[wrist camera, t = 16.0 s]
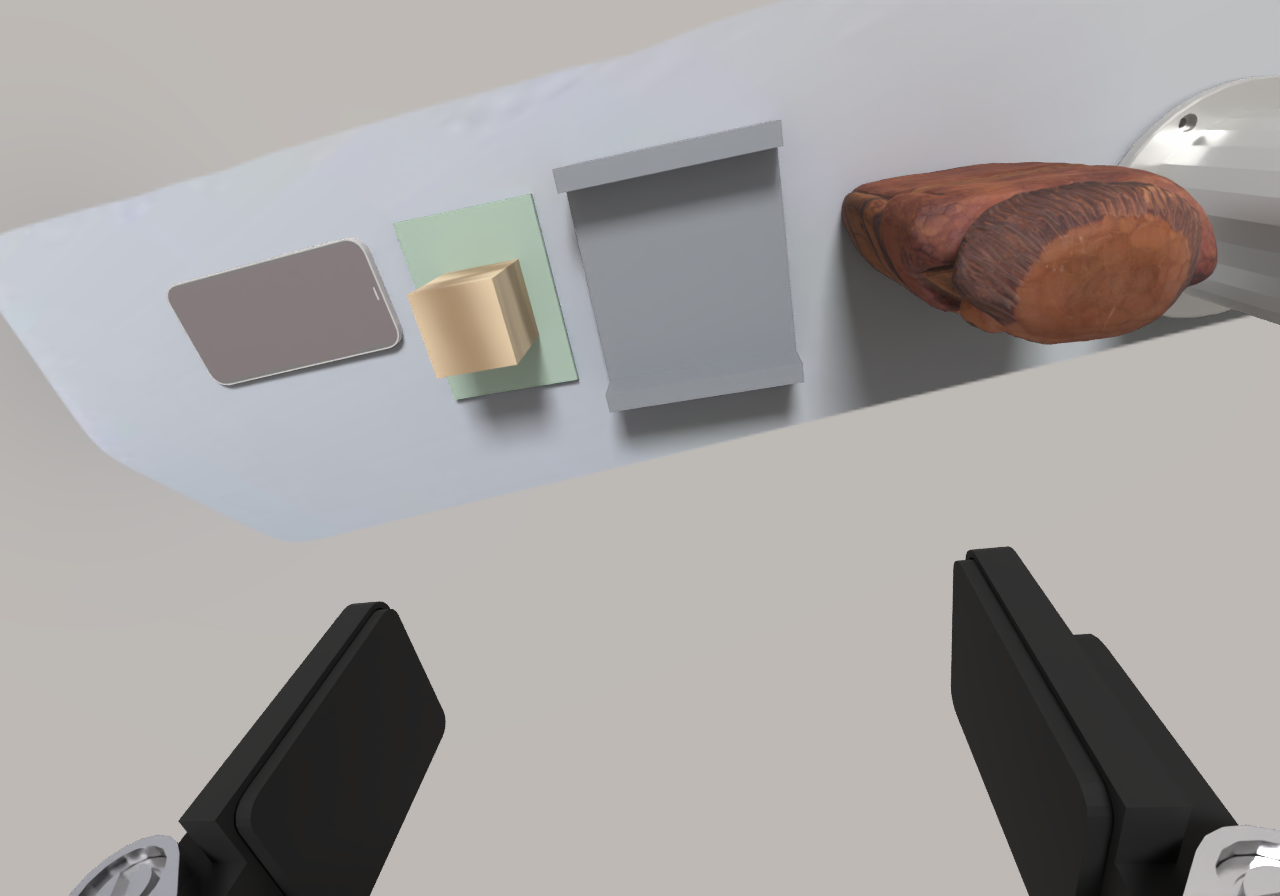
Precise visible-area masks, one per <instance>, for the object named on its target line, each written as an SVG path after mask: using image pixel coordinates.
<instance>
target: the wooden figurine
mask: <svg viewBox="0 0 1280 896" xmlns="http://www.w3.org/2000/svg"><path fill="white" fill-rule="evenodd" d="M842 215H843V219H844V222H845V225H846V228H847V230H848V233H849V235H850V237H851V239H852V241H853V243H854V245H855V247H856V248H857V250H858V251H859V253H860V254H861V255H862V256H863V257H864V258H865V259H866V260H867V261H868V262H869V263H870V264H871V265H872V266H873V267H874V268H875V269H877V270H878V271H880V272H881V273H883V274H884V275H886V276H887V277H889V278H891V279H893V280H894V281H896V282H897V283H899V284H900V285H902V286H904V287H905V288H906V289H908V290H909V291H911V292H912V293H913V294H915V295H916V296H918V297H920V298H921V299H922V300H924V301H925V302H927V303H928V304H929V305H931V306H933V307H935V308H937V309H941V310H943V311H950V312H955V313H960V314H961V316H962V317H963V319H965V320H966V321H967V322H968V323H969V324H971V325H972V326H975V327H978V328H980V329H982V330H983V331H986V332H990V333H995V332H1006V333H1008V334H1010V335H1012V336H1014V337H1018V338H1022V339H1025V340H1027V341H1031V342H1036V343H1041V344H1058V343H1068V342H1077V341H1089V340H1095V339H1103V338H1109V337H1115V336H1120V335H1123V334H1127V333H1130V332H1132V331H1134V330H1137V329H1139V328H1141V327H1143V326H1145V325H1147V324H1149V323H1151V322H1153V321H1154V320H1156V319H1157V318H1159V317H1160V316H1162V315H1163V314H1164V313H1165V312H1166V311H1167V310H1168V309H1169V308H1170V307H1171V306H1172V305H1173V304H1174V303H1175V302H1176V300H1177V299H1178V298H1179V296H1180V295H1181V294H1182V292H1183V291H1184V290H1185V289H1186V288H1187V287H1189V286H1193V285H1196V284H1198V283H1200V282H1202V281H1204V280H1206V279H1207V278H1208V277H1209V276H1211V275H1212V274H1213V272H1214V270H1215V268H1216V266H1217V259H1218V254H1217V246H1216V239H1215V235H1214V231H1213V226H1212V224H1211V223H1210V221H1209V219H1208V217H1207V215H1206V213H1205V211H1204V209H1203V208H1202V207H1201V205H1200V204H1199V203H1198V202H1197V201H1196V200H1195V199H1194V198H1193V197H1192V196H1191V195H1190V194H1189V193H1188V192H1187V191H1186V190H1185V189H1184V188H1183V187H1181V186H1179V185H1178V184H1176V183H1175V182H1174V181H1172V180H1170V179H1168V178H1166V177H1163V176H1161V175H1158V174H1155V173H1152V172H1149V171H1145V170H1140V169H1134V168H1128V167H1122V166H1105V165H1095V166H1088V165H1084V164H1068V163H1043V162H1024V163H990V164H979V165H972V166H966V167H959V168H953V169H948V170H942V171H935V172H930V173H923V174H913V175H907V176H901V177H895V178H888V179H884V180H880V181H876V182H871V183H867V184H863V185H861V186H859V187H857V188H856V189H854V190H853V191H852V193H849V194H848V195H847V196H846V197H845V199H844V201H843V204H842Z"/></svg>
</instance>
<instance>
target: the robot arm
mask: <svg viewBox="0 0 1280 896" xmlns="http://www.w3.org/2000/svg"><path fill="white" fill-rule="evenodd" d="M1179 123H1180V125H1179ZM1118 166H1122V167H1128V168H1134V169H1140V170H1145V171H1149V172H1152V173H1155V174H1158V175H1161V176H1163V177H1166V178H1168V179H1170V180H1172V181H1174V182H1175V183H1176V184H1178V185H1179V186H1181V187H1183V188H1184V189H1185V190H1186V191H1187V192H1188V193H1189V194H1190V195H1191V196H1192V197H1193V198H1194V199H1195V200H1196V201H1197V202H1198V203H1199V204H1200V205H1201V207H1202V208H1203V209H1204V211H1205V213H1206V215H1207V217H1208V219H1209V221H1210V223H1211V224H1212V226H1213V231H1214V235H1215V239H1216V246H1217V254H1218V259H1217V266H1216V268H1215V270H1214V272H1213V274H1212V275H1211V276H1209V277H1208V278H1207V279H1206V280H1204V281H1202V282H1200V283H1198V284H1196V285H1193V286H1189V287H1187V288H1186V289H1185V290H1184V291H1183V292H1182V294H1181V295H1180V296H1179V298H1178V299H1177V300H1176V302H1175V303H1174V304H1173V305H1172V306H1171V307H1170V308H1169V309H1168V310H1167V311H1166V312H1165V313H1164V314H1163V315H1162V316H1166V317H1170V318H1198V317H1204V316H1210V315H1216V314H1219V313H1223V312H1226V311H1229V310H1232V309H1233V310H1236V311H1239V312H1242V313H1245V314H1248V315H1251V316H1255V317H1258V318H1261V319H1264V320H1267V321H1270V322H1273V323H1276V324H1279V325H1280V75H1273V76H1260V77H1250V78H1245V79H1241V80H1236V81H1231V82H1226V83H1224V84H1221V85H1218V86H1216V87H1213V88H1211V89H1208V90H1206V91H1203V92H1200V93H1199V94H1197V95H1195V96H1193V97H1192V98H1190V99H1188V100H1186V101H1185V102H1183V103H1181V104H1179V105H1178V106H1176V107H1175V108H1173V109H1172V110H1171V111H1170V112H1168V113H1167V114H1166V115H1164V116H1163V117H1162V118H1161V119H1159V120H1158V121H1157V122H1155V123H1154V124H1153V125H1152V126H1151V127H1150V128H1149V129H1148V130H1147V131H1146V132H1145V133H1144V134H1143V135H1142V136H1141V137H1140V138H1139V139H1138V140H1137V141H1136V142H1135V143H1134V144H1133V146H1132V147H1131V148H1130V150H1129V151H1128V152H1127V154H1126V155H1125V157H1124V158H1123V159H1122V161H1121V162H1120V163H1119V165H1118ZM951 694H952V700H953V705H954V708H955V711H956V714H957V717H958V719H959V722H960V724H961V727H962V729H963V732H964V734H965V736H966V739H967V742H968V744H969V747H970V749H971V752H972V754H973V757H974V759H975V762H976V764H977V767H978V769H979V772H980V774H981V777H982V779H983V782H984V784H985V786H986V789H987V792H988V794H989V797H990V799H991V802H992V804H993V806H994V809H995V812H996V814H997V817H998V819H999V822H1000V824H1001V827H1002V829H1003V832H1004V834H1005V837H1006V839H1007V841H1008V844H1009V847H1010V849H1011V851H1012V854H1013V856H1014V859H1015V862H1016V864H1017V866H1018V869H1019V871H1020V874H1021V877H1022V879H1023V882H1024V884H1025V887H1026V889H1027V892H1028V894H1029V896H1280V831H1278V830H1275V829H1268V828H1263V827H1257V826H1250V825H1240V826H1239V825H1238V824H1237V823H1236V821H1235V820H1234V819H1233V817H1232V816H1231V814H1230V813H1229V812H1228V810H1227V809H1226V808H1225V807H1224V805H1223V804H1222V803H1221V801H1220V800H1219V798H1218V797H1217V796H1216V795H1215V793H1214V792H1213V790H1212V789H1211V787H1210V786H1209V785H1208V783H1207V782H1206V781H1205V779H1204V778H1203V777H1202V775H1201V774H1200V773H1199V771H1198V770H1197V769H1196V767H1195V766H1194V765H1193V763H1192V762H1191V761H1190V759H1189V758H1188V756H1187V755H1186V754H1185V752H1184V751H1183V750H1182V748H1181V747H1180V746H1179V745H1178V743H1177V742H1176V740H1175V739H1174V738H1173V736H1172V735H1171V734H1170V732H1169V731H1168V730H1167V728H1166V727H1165V725H1164V724H1163V723H1162V722H1161V720H1160V719H1159V718H1158V716H1157V715H1156V713H1155V712H1154V711H1153V709H1152V708H1151V707H1150V705H1149V704H1148V702H1147V701H1146V700H1145V699H1144V697H1143V696H1142V694H1141V693H1140V692H1139V690H1138V689H1137V688H1136V686H1135V685H1134V684H1133V682H1132V681H1131V680H1130V678H1129V677H1128V676H1127V674H1126V673H1125V672H1124V670H1123V669H1122V667H1121V666H1120V665H1119V663H1118V662H1117V661H1116V659H1115V658H1114V657H1113V656H1112V654H1111V653H1110V651H1109V650H1108V649H1107V647H1106V646H1105V645H1104V644H1103V643H1102V642H1101V641H1100V640H1099V639H1098V638H1097V637H1095V636H1094V635H1092V634H1081V635H1073V634H1072V633H1071V631H1070V630H1069V628H1068V627H1067V625H1066V624H1065V622H1064V621H1063V619H1062V618H1061V617H1060V615H1059V614H1058V612H1057V611H1056V609H1055V608H1054V607H1053V605H1052V604H1051V602H1050V601H1049V599H1048V598H1047V596H1046V595H1045V594H1044V592H1043V591H1042V589H1041V588H1040V586H1039V585H1038V584H1037V582H1036V581H1035V579H1034V578H1033V576H1032V575H1031V574H1030V572H1029V570H1028V569H1027V568H1026V566H1025V565H1024V563H1023V562H1022V560H1021V559H1020V557H1019V556H1018V555H1017V553H1016V552H1015V551H1014V550H1013V549H1012V548H1011V547H997V548H986V549H974V550H969V551H968V552H967V554H966V560H961V561H955V563H954V569H953V614H952V662H951ZM444 730H445V715H444V712H443V709H442V707H441V705H440V703H439V701H438V699H437V696H436V695H435V692H434V690H433V688H432V686H431V684H430V682H429V679H428V678H427V675H426V673H425V671H424V669H423V667H422V665H421V662H420V660H419V658H418V656H417V654H416V652H415V650H414V647H413V645H412V643H411V641H410V639H409V637H408V635H407V632H406V630H405V628H404V626H403V624H402V622H401V619H400V617H399V615H398V614H397V612H396V611H395V610H393V609H390V608H389V606H388V605H387V604H386V603H384V602H368V603H357V604H351V605H349V606H347V607H346V608H345V609H344V610H343V611H342V613H341V614H340V616H339V617H338V618H337V619H336V620H335V622H334V623H333V624H332V625H331V627H330V628H329V629H328V631H327V632H326V633H325V634H324V636H323V637H322V638H321V640H320V641H319V642H318V643H317V645H316V646H315V647H314V648H313V650H312V651H311V652H310V654H309V655H308V656H307V657H306V659H305V660H304V661H303V663H302V664H301V665H300V667H299V668H298V669H297V670H296V671H295V673H294V674H293V675H292V677H291V678H290V679H289V680H288V682H287V683H286V684H285V686H284V687H283V688H282V689H281V691H280V692H279V693H278V695H277V696H276V697H275V698H274V700H273V701H272V702H271V703H270V705H269V706H268V707H267V708H266V710H265V711H264V712H263V714H262V715H261V716H260V717H259V719H258V720H257V721H256V723H255V724H254V725H253V726H252V728H251V729H250V730H249V732H248V733H247V734H246V735H245V737H244V738H243V739H242V740H241V742H240V743H239V744H238V746H237V747H236V748H235V749H234V751H233V752H232V753H231V755H230V756H229V757H228V758H227V760H226V761H225V762H224V763H223V765H222V766H221V767H220V768H219V770H218V771H217V772H216V774H215V775H214V776H213V777H212V779H211V780H210V781H209V783H208V784H207V785H206V786H205V788H204V789H203V790H202V791H201V793H200V794H199V795H198V797H197V798H196V799H195V801H194V802H193V803H192V804H191V806H190V807H189V808H188V809H187V811H186V812H185V813H184V815H183V816H182V817H181V818H180V820H179V822H180V824H181V825H182V826H183V827H184V829H185V830H186V831H187V833H186V835H185V836H184V837H183V838H182V840H181V841H180V842H179V844H178V842H176V841H175V840H174V839H173V838H172V837H170V836H164V835H155V836H151V837H147V838H143V839H140V840H138V841H136V842H134V843H132V844H130V845H127V846H125V847H123V848H122V849H121V850H119V851H118V852H116V853H114V854H113V855H111V856H110V857H108V858H107V859H105V860H104V861H103V862H102V863H100V864H99V865H98V866H97V867H96V868H95V869H93V870H92V871H91V872H90V873H89V874H88V875H87V876H86V877H85V878H84V879H83V880H82V881H81V882H80V883H79V884H78V885H77V886H76V888H75V889H74V890H73V891H72V892H71V893H70V895H69V896H370V894H371V891H372V889H373V887H374V885H375V883H376V880H377V879H378V876H379V874H380V872H381V870H382V867H383V865H384V863H385V861H386V859H387V857H388V854H389V852H390V850H391V848H392V846H393V844H394V841H395V839H396V837H397V835H398V833H399V830H400V828H401V826H402V824H403V822H404V820H405V817H406V815H407V813H408V811H409V809H410V806H411V804H412V802H413V800H414V798H415V795H416V793H417V791H418V789H419V787H420V784H421V782H422V780H423V778H424V776H425V774H426V772H427V769H428V767H429V765H430V763H431V761H432V758H433V756H434V754H435V752H436V750H437V747H438V745H439V743H440V741H441V739H442V737H443V734H444Z"/></svg>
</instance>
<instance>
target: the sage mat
mask: <svg viewBox="0 0 1280 896" xmlns="http://www.w3.org/2000/svg"><path fill="white" fill-rule="evenodd" d="M393 226H394V228H395V231H396V234H397V237H398V240H399V243H400V246H401V248H402V251H403V254H404V257H405V260H406V263H407V265H408V268H409V271H410V274H411V277H412V280H413V283H414V285H415V288H416V290H417V289H418V288H420V287H422V286H424V285H425V284H427V283H429V282H430V281H432V280H434V279H436V278H437V277H439V276H441V275H443V274H444V273H449V272H454V271H459V270H464V269H469V268H474V267H479V266H484V265H490V264H495V263H500V262H505V261H510V260H515V259H519V263H520V266H521V270H522V274H523V277H524V281H525V285H526V288H527V292H528V295H529V299H530V303H531V306H532V310H533V314H534V317H535V321H536V325H537V328H538V332H539V336H538V337H537V339H536V340H535V341H534V343H533V344H532V345H531V347H530V348H529V349H528V351H527V352H526V354H525V355H524V356H523V358H522V359H521V360H520V362H519V363H518V364H517V365H512V366H507V367H501V368H495V369H489V370H483V371H477V372H472V373H466V374H460V375H454V376H448V377H447V380H448V382H449V385H450V388H451V391H452V394H453V397H454V400H457V399H463V398H469V397H475V396H481V395H487V394H493V393H499V392H506V391H512V390H518V389H524V388H530V387H536V386H542V385H548V384H554V383H560V382H566V381H572V380H578V374H577V370H576V366H575V362H574V358H573V354H572V350H571V346H570V342H569V338H568V334H567V330H566V326H565V323H564V319H563V315H562V311H561V307H560V303H559V299H558V295H557V291H556V287H555V283H554V279H553V275H552V271H551V267H550V263H549V260H548V256H547V252H546V248H545V244H544V240H543V236H542V232H541V228H540V224H539V220H538V216H537V212H536V208H535V204H534V200H533V197H532V194H529V195H524V196H520V197H515V198H510V199H506V200H501V201H496V202H491V203H487V204H482V205H477V206H473V207H468V208H463V209H459V210H454V211H449V212H445V213H440V214H435V215H431V216H426V217H421V218H417V219H412V220H407V221H402V222H398V223H394V224H393Z"/></svg>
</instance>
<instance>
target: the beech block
mask: <svg viewBox="0 0 1280 896" xmlns="http://www.w3.org/2000/svg"><path fill="white" fill-rule="evenodd" d="M407 296H408V299H409V302H410V305H411V307H412V310H413V313H414V316H415V319H416V321H417V324H418V327H419V330H420V332H421V335H422V338H423V341H424V344H425V346H426V349H427V352H428V355H429V358H430V360H431V363H432V366H433V369H434V372H435V374H436V377H437V378H443V377H448V376H454V375H460V374H466V373H472V372H477V371H483V370H489V369H495V368H501V367H507V366H512V365H517V364H518V363H519V362H520V360H521V359H522V358H523V356H524V355H525V354H526V352H527V351H528V349H529V348H530V347H531V345H532V344H533V343H534V341H535V340H536V339H537V337H538V336H539V332H538V328H537V325H536V321H535V317H534V314H533V310H532V306H531V303H530V299H529V295H528V292H527V288H526V285H525V281H524V277H523V274H522V270H521V266H520V263H519V259H515V260H510V261H505V262H500V263H495V264H490V265H484V266H479V267H474V268H469V269H464V270H459V271H454V272H449V273H444V274H443V275H441V276H439V277H437V278H436V279H434V280H432V281H430V282H429V283H427V284H425V285H424V286H422V287H420V288H418V289H417V290H415V291H413V292H411V293H410V294H408V295H407Z"/></svg>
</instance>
